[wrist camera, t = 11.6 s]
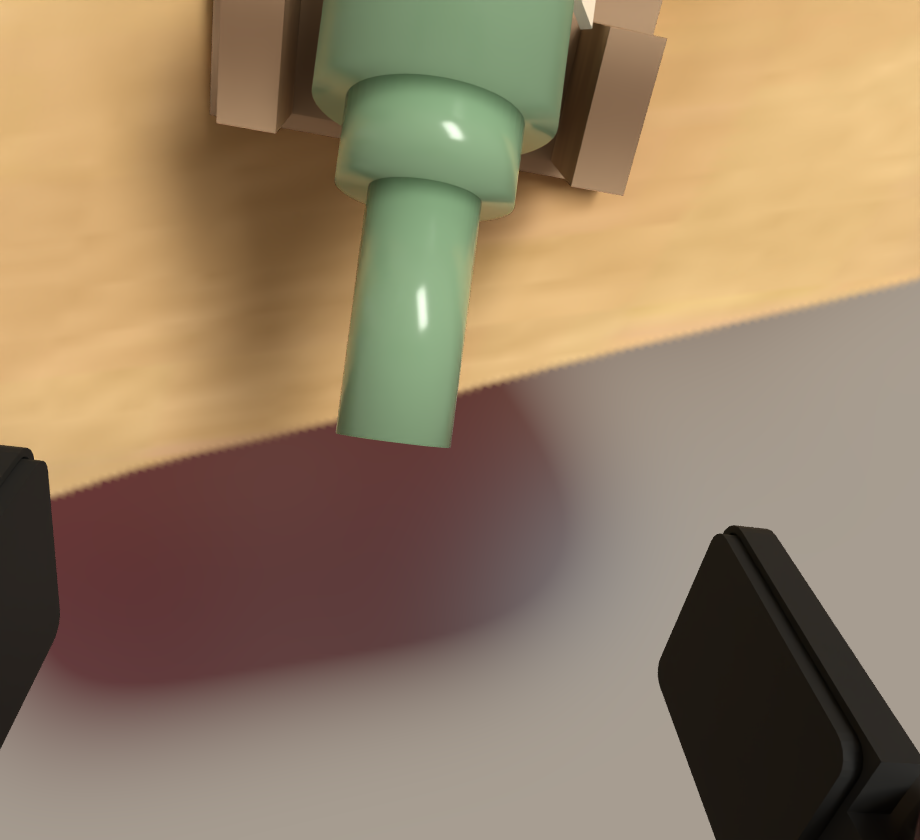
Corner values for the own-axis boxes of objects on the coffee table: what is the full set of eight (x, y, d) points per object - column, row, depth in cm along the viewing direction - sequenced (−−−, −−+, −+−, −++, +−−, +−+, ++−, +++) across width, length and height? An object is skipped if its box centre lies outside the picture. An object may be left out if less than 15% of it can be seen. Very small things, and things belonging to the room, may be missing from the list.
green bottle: (336, -516, 18) (214, 419, 18) (609, -608, 16) (471, 456, 15) (436, -280, 23) (344, 429, 23) (646, -323, 21) (546, 457, 21)
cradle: (223, -94, 24) (156, -120, 18) (653, -1, 26) (735, 6, 20) (215, 110, 27) (155, 152, 21) (605, 181, 29) (663, 239, 23)
